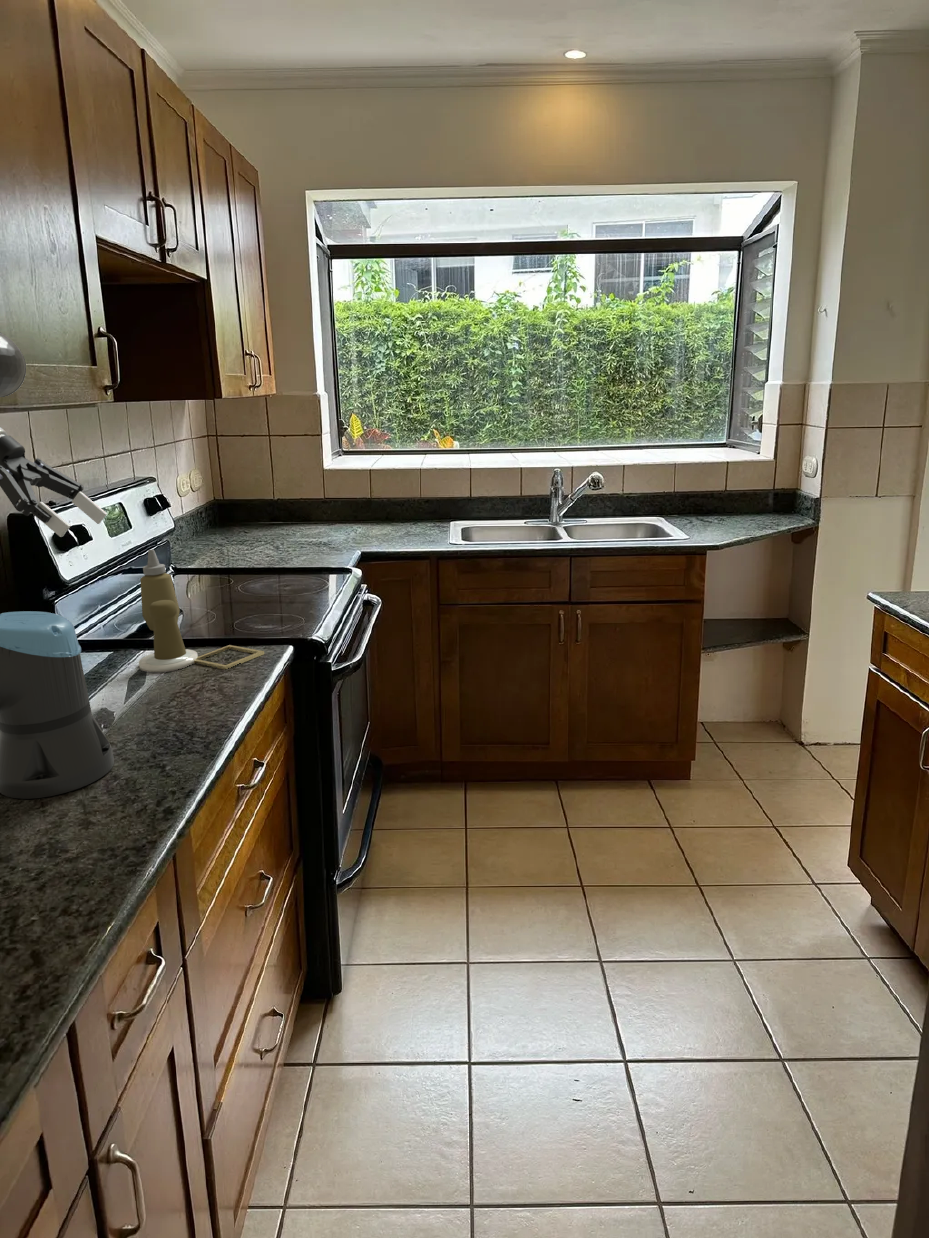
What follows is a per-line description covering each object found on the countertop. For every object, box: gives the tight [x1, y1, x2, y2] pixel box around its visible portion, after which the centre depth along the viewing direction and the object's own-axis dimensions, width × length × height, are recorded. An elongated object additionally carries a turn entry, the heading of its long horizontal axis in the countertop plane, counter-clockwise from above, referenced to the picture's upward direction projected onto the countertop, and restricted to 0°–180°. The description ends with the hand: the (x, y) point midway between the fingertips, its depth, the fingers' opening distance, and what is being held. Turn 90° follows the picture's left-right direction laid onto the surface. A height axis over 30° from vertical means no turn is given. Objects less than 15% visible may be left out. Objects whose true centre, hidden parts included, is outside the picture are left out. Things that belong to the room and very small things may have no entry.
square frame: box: [194, 644, 265, 670], centre depth 165 cm, size 10×10×1 cm
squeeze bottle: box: [140, 549, 181, 632], centre depth 186 cm, size 8×8×18 cm
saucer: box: [138, 648, 199, 674], centre depth 164 cm, size 11×11×1 cm
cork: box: [149, 600, 186, 660], centre depth 164 cm, size 6×6×11 cm
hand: (85, 525), depth 159 cm, fingers open, 13 cm apart
